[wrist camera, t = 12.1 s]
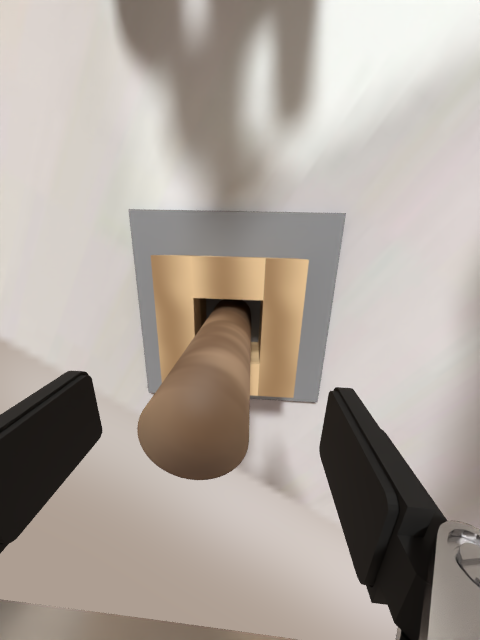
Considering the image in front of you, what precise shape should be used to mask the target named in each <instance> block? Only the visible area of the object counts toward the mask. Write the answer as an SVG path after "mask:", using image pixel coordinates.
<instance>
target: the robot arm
mask: <svg viewBox="0 0 480 640" xmlns="http://www.w3.org/2000/svg"><path fill="white" fill-rule="evenodd" d="M101 434H102V426H101V421H100V416H99V411H98V407H97V402H96V397H95V392H94V387H93V382H92V378H91V377H90V376H89V375H88V373H87V372H83V371H68V372H66V373H64V374H63V375H61V376H60V377H58V378H57V379H56V380H54V381H52V382H51V383H49V384H47V385H46V386H44V387H43V388H41V389H40V390H38V391H37V392H35V393H33V394H32V395H30V396H29V397H27V398H26V399H24V400H23V401H21V402H20V403H18V404H17V405H15V406H13V407H12V408H10V409H9V410H7V411H6V412H4V413H3V414H1V415H0V553H1V552H2V551H3V550H4V548H5V547H6V546H7V545H8V544H9V543H11V542H12V541H14V540H15V539H16V538H17V537H18V536H19V535H20V534H21V533H22V531H23V530H24V529H25V528H26V526H27V525H28V524H29V523H30V522H31V521H32V519H33V518H34V517H35V515H37V513H38V512H39V511H40V510H41V509H42V507H43V506H44V505H45V504H46V503H47V501H48V500H49V499H50V498H51V497H52V495H53V494H54V493H55V492H56V490H57V489H58V488H59V487H60V486H61V484H62V483H63V482H64V481H65V479H66V478H67V477H68V476H69V475H70V474H71V472H72V471H73V470H74V469H75V468H76V466H77V465H78V464H79V463H80V462H81V460H82V459H83V458H84V457H85V456H86V454H87V453H88V452H89V451H90V450H91V448H92V447H93V446H94V445H95V443H96V442H97V441H98V440H99V438H100V437H101ZM320 457H321V460H322V464H323V467H324V470H325V473H326V477H327V480H328V483H329V486H330V490H331V493H332V496H333V499H334V503H335V506H336V509H337V513H338V516H339V519H340V522H341V526H342V529H343V532H344V535H345V539H346V542H347V545H348V548H349V552H350V555H351V558H352V561H353V565H354V568H355V571H356V574H357V577H358V579H359V581H360V583H361V584H363V585H366V586H367V589H368V592H369V595H370V599H371V602H372V603H379V604H387V605H388V607H389V610H390V612H391V615H392V618H393V621H394V623H395V624H396V625H397V626H398V629H397V635H396V640H480V530H479V529H477V528H475V527H473V526H471V525H469V524H466V523H462V522H459V521H447V520H446V518H445V517H444V515H443V514H442V512H441V511H440V510H439V508H438V507H437V505H436V504H435V503H434V501H433V500H432V498H431V497H430V495H429V494H428V493H427V491H426V490H425V488H424V487H423V485H422V484H421V483H420V481H419V480H418V478H417V477H416V475H415V474H414V473H413V471H412V470H411V468H410V467H409V465H408V464H407V463H406V461H405V460H404V458H403V457H402V456H401V454H400V453H399V451H398V450H397V448H396V447H395V446H394V444H393V443H392V441H391V440H390V438H389V437H388V436H387V434H386V433H385V432H384V431H383V430H382V429H380V427H379V426H378V424H377V423H376V422H375V420H374V419H373V417H372V416H371V414H370V413H369V411H368V410H367V409H366V407H365V406H364V404H363V403H362V401H361V400H360V398H359V397H358V395H357V394H356V393H355V391H354V390H353V389H352V388H339V387H336V388H335V389H334V391H330V392H329V395H328V401H327V407H326V413H325V418H324V424H323V430H322V435H321V441H320ZM0 640H295V639H290V638H283V637H276V636H269V635H261V634H254V633H247V632H240V631H232V630H225V629H218V628H211V627H204V626H196V625H189V624H182V623H174V622H167V621H160V620H153V619H145V618H138V617H130V616H122V615H115V614H107V613H100V612H92V611H85V610H76V609H69V608H61V607H54V606H46V605H39V604H31V603H23V602H15V601H8V600H0Z"/></svg>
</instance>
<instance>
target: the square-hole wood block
mask: <svg viewBox="0 0 480 640" xmlns="http://www.w3.org/2000/svg"><path fill="white" fill-rule="evenodd" d="M308 264H309V260H307V259H298V258H267V257H231V256H195V255H151V266H152V277H153V289H154V300H155V311H156V323H157V334H158V345H159V357H160V368H161V379H162V383H163V381H164V380H165V378H166V377H167V375H168V374H169V373H170V371H171V370H172V368H173V367H174V365H175V364H176V363H177V361H178V360H179V358H180V357H181V355H182V354H183V353H184V351H185V350H186V348H187V347H188V345H189V344H190V343H191V341H192V340H193V338H194V337H195V335H196V334H197V333H198V331H199V330H200V328H201V327H202V325H203V324H204V323H205V321H206V320H207V315H206V298H208V299H235V300H261V301H260V320H259V338H258V342H251V361H250V395H251V396H268V397H286V398H293V397H294V388H295V380H296V371H297V362H298V353H299V344H300V335H301V326H302V317H303V309H304V300H305V291H306V282H307V273H308Z"/></svg>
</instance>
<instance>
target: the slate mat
mask: <svg viewBox="0 0 480 640" xmlns="http://www.w3.org/2000/svg"><path fill="white" fill-rule="evenodd" d="M345 216H346V213H302V212H247V211H192V210H137V209H129V217H130V227H131V236H132V245H133V254H134V263H135V272H136V281H137V290H138V300H139V309H140V318H141V327H142V336H143V345H144V354H145V363H146V372H147V382H148V391H149V393H156V391H157V390H158V388H159V387H160V385H161V384H162V379H161V368H160V357H159V345H158V334H157V323H156V311H155V300H154V289H153V277H152V266H151V255H195V256H231V257H267V258H298V259H307V260H309V264H308V273H307V282H306V291H305V300H304V309H303V317H302V326H301V335H300V344H299V353H298V362H297V371H296V380H295V388H294V397H293V398H286V397H268V396H251V395H250V399H268V400H285V401H302V402H317V401H318V395H319V388H320V382H321V375H322V368H323V362H324V355H325V348H326V342H327V335H328V328H329V322H330V315H331V309H332V302H333V295H334V289H335V282H336V275H337V269H338V262H339V255H340V249H341V242H342V236H343V229H344V222H345ZM221 300H223V299H208V298H206V315H207V318H208V317H209V315H210V314H211V313H212V311H213V310H214V308H215V307H216V305H217V304H218V303H219V302H220V301H221ZM243 301H244V302H245V303H246V304H247V305H248V306H249V308H250V310H251V342H258V338H259V320H260V301H261V300H243Z"/></svg>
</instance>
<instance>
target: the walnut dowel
mask: <svg viewBox="0 0 480 640" xmlns="http://www.w3.org/2000/svg"><path fill="white" fill-rule="evenodd" d="M250 361H251V310H250V308H249V306H248V305H247V304H246V303H245V302H244V301H243V300H235V299H223V300H221V301H220V302H219V303H218V304H217V305H216V307H215V308H214V310H213V311H212V313H211V314H210V315H209V317H208V318H207V320H206V321H205V323H204V324H203V325H202V327H201V328H200V330H199V331H198V333H197V334H196V335H195V337H194V338H193V340H192V341H191V343H190V344H189V345H188V347H187V348H186V350H185V351H184V353H183V354H182V355H181V357H180V358H179V360H178V361H177V363H176V364H175V365H174V367H173V368H172V370H171V371H170V373H169V374H168V375H167V377H166V378H165V380H164V381H163V383H162V384H161V385H160V387H159V388H158V390H157V391H156V393H155V394H154V395H153V397H152V398H151V400H150V401H149V403H148V404H147V405H146V407H145V408H144V410H143V411H142V413H141V415H140V418H139V421H138V438H139V441H140V444H141V446H142V448H143V450H144V452H145V453H146V455H147V456H148V457H149V458H150V459H151V460H152V461H153V462H154V463H155V464H156V465H157V466H158V467H160V468H161V469H163V470H165V471H166V472H168V473H170V474H173V475H175V476H178V477H181V478H186V479H192V480H208V479H213V478H217V477H220V476H223V475H225V474H227V473H229V472H231V471H232V470H233V469H235V468H236V467H237V466H238V465H239V464H240V463H241V461H242V460H243V459H244V457H245V455H246V452H247V449H248V443H249V406H250Z"/></svg>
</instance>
